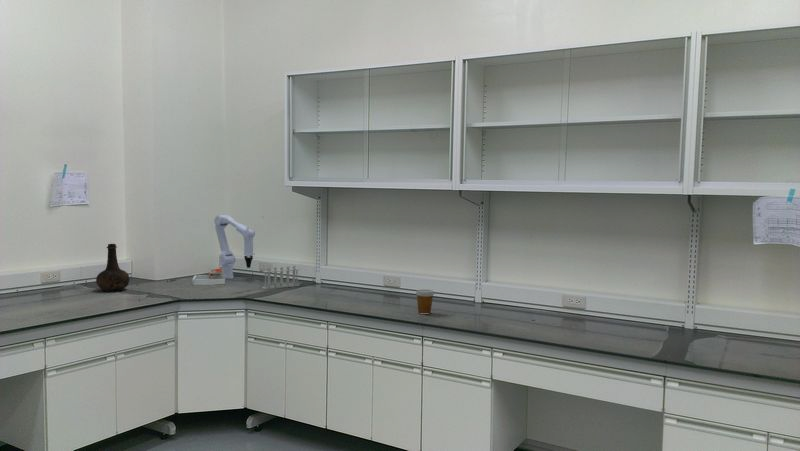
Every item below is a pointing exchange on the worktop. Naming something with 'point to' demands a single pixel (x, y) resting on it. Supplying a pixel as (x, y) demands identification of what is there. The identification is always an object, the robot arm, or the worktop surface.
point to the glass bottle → (112, 273)
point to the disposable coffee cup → (424, 300)
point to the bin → (207, 280)
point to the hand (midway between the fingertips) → (248, 266)
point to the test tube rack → (281, 278)
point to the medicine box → (215, 274)
